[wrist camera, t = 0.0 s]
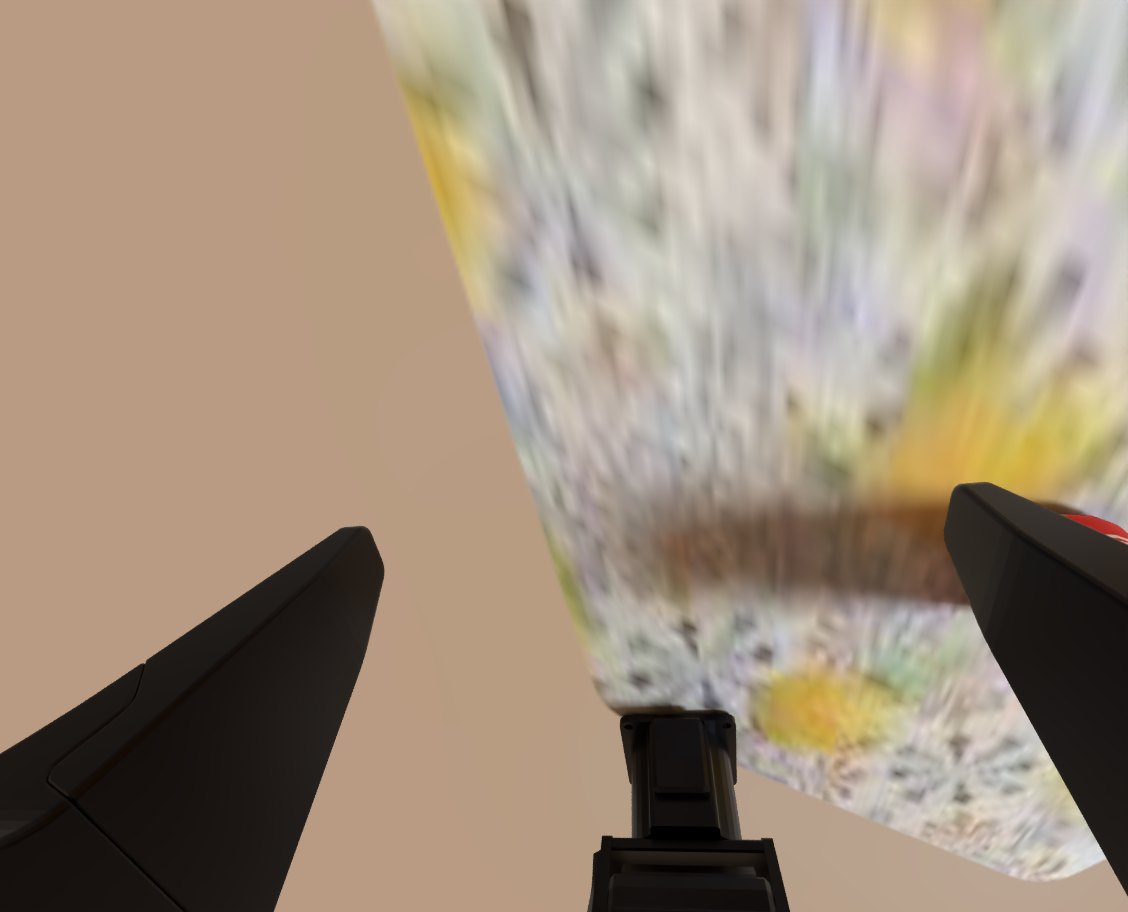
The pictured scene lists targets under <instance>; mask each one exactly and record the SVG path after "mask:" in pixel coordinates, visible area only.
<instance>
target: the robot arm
mask: <svg viewBox="0 0 1128 912" xmlns="http://www.w3.org/2000/svg"><path fill="white" fill-rule="evenodd" d="M944 540H945V544H946V547H947V550H948V552H949V554H950V557H951V559H952V562H953V564H954V567H955V569H956V572H957V574H958V576H959V579H960V581H961V584H962V586H963V589H964V591H965V594H966V596H967V598H968V601H969V603H970V606H971V608H972V611H973V613H974V615H975V618H976V620H977V623H978V625H979V627H980V629H981V632H982V634H983V636H984V638H985V640H986V642H987V644H988V646H989V648H990V650H991V652H992V653H993V655H994V657H995V659H996V661H997V662H998V664H999V666H1000V668H1001V670H1002V671H1003V673H1004V675H1005V677H1006V679H1007V680H1008V682H1009V684H1010V686H1011V688H1012V689H1013V691H1014V693H1015V695H1016V697H1017V698H1018V700H1019V702H1020V704H1021V706H1022V707H1023V709H1024V711H1025V713H1026V715H1027V716H1028V718H1029V720H1030V722H1031V724H1032V725H1033V727H1034V729H1035V731H1036V732H1037V734H1038V736H1039V738H1040V740H1041V741H1042V743H1043V745H1044V747H1045V749H1046V750H1047V752H1048V754H1049V756H1050V758H1051V759H1052V761H1053V763H1054V765H1055V767H1056V768H1057V770H1058V772H1059V774H1060V776H1061V777H1062V779H1063V781H1064V783H1065V785H1066V786H1067V788H1068V790H1069V792H1070V794H1071V795H1072V797H1073V799H1074V801H1075V802H1076V804H1077V806H1078V808H1079V810H1080V811H1081V813H1082V815H1083V817H1084V819H1085V820H1086V822H1087V824H1088V826H1089V828H1090V829H1091V831H1092V833H1093V835H1094V837H1095V838H1096V840H1097V842H1098V844H1099V846H1100V847H1101V849H1102V851H1103V853H1104V855H1105V856H1106V858H1107V860H1108V862H1109V863H1110V865H1111V867H1112V869H1113V870H1114V873H1115V874H1116V876H1117V878H1118V880H1119V881H1120V883H1121V885H1122V887H1123V889H1124V890H1125V892H1126V894H1127V896H1128V544H1126V543H1124V542H1121V541H1119V540H1117V539H1115V538H1112V537H1110V536H1108V535H1106V534H1103V533H1101V532H1099V531H1097V530H1095V529H1092V528H1090V527H1088V526H1086V525H1083V524H1081V523H1079V522H1077V521H1074V520H1072V519H1070V518H1068V517H1066V516H1063V515H1061V514H1059V513H1057V512H1054V511H1052V510H1050V509H1048V508H1045V507H1043V506H1041V505H1039V504H1037V503H1034V502H1032V501H1030V500H1028V499H1025V498H1023V497H1021V496H1019V495H1016V494H1014V493H1012V492H1010V491H1008V490H1005V489H1003V488H1001V487H999V486H996V485H994V484H992V483H988V482H980V483H966V484H959V485H957V486H956V487H955V488H954V489H953V491H952V494H951V499H950V503H949V508H948V513H947V517H946V522H945V527H944ZM383 579H384V565H383V561H382V558H381V556H380V554H379V551H378V549H377V546H376V544H375V542H374V539H373V536H372V534H371V532H370V530H369V529H368V528H366V527H364V526H355V527H344V528H341V529H339V530H338V531H336V532H335V533H333V534H332V535H330V536H329V537H327V538H326V539H324V540H323V541H321V542H320V543H318V544H317V545H315V546H314V547H312V548H311V549H310V550H308V551H307V552H305V553H304V554H302V555H301V556H299V557H298V558H296V559H295V560H293V561H292V562H290V563H289V564H287V565H286V566H284V567H283V568H282V569H280V570H279V571H277V572H276V573H274V574H273V575H271V576H270V577H268V578H267V579H265V580H264V581H262V582H261V583H259V584H258V585H256V586H255V587H254V588H252V589H251V590H249V591H248V592H246V593H245V594H243V595H242V596H240V597H239V598H237V599H236V600H235V601H233V602H231V603H230V604H228V605H227V606H226V607H224V608H223V609H221V610H220V611H218V612H217V613H215V614H214V615H212V616H211V617H210V618H208V619H206V620H205V621H204V622H202V623H201V624H199V625H197V626H196V627H195V628H193V629H192V630H190V631H189V632H187V633H186V634H184V635H183V636H181V637H180V638H178V639H177V640H175V641H174V642H172V643H171V644H169V645H168V646H167V647H165V648H164V649H162V650H161V651H159V652H158V653H156V654H155V655H153V656H152V657H150V658H149V659H147V661H146V663H145V664H144V663H143V664H140V665H138V666H137V667H135V668H134V669H133V670H131V671H129V672H128V673H127V674H125V675H124V676H122V677H121V678H119V679H118V680H116V681H115V682H113V683H112V684H110V685H109V686H107V687H106V688H104V689H103V690H101V691H100V692H98V693H97V694H95V695H94V696H92V697H90V698H89V699H88V700H86V701H84V702H83V703H81V704H80V705H78V706H77V707H75V708H73V709H72V710H70V711H69V712H67V713H65V714H64V715H62V716H61V717H59V718H58V719H56V720H54V721H53V722H51V723H49V724H48V725H46V726H45V727H43V728H42V729H40V730H38V731H37V732H35V733H33V734H32V735H30V736H29V737H27V738H25V739H24V740H22V741H20V742H19V743H17V744H15V745H14V746H12V747H11V748H9V749H7V750H6V751H4V752H2V753H1V754H0V912H274V909H275V907H276V904H277V901H278V898H279V895H280V892H281V890H282V887H283V884H284V881H285V879H286V876H287V873H288V870H289V868H290V865H291V862H292V859H293V856H294V853H295V851H296V848H297V845H298V842H299V840H300V836H301V834H302V831H303V828H304V826H305V823H306V820H307V817H308V814H309V812H310V809H311V806H312V803H313V800H314V798H315V795H316V792H317V789H318V787H319V784H320V781H321V778H322V775H323V773H324V770H325V767H326V764H327V761H328V758H329V756H330V753H331V750H332V747H333V745H334V742H335V739H336V736H337V733H338V731H339V728H340V725H341V722H342V720H343V717H344V714H345V711H346V708H347V705H348V703H349V700H350V697H351V694H352V692H353V689H354V686H355V683H356V681H357V678H358V675H359V672H360V669H361V666H362V663H363V660H364V657H365V653H366V650H367V646H368V642H369V638H370V634H371V629H372V625H373V621H374V617H375V613H376V608H377V604H378V600H379V596H380V592H381V588H382V583H383ZM620 730H621V736H622V742H623V747H624V753H625V759H626V764H627V770H628V776H629V782H630V784H632V838H613V837H612V836H602V842H601V850H599V851H598V852H596V853H594V855H593V877H592V889H591V895H590V901H589V905H588V911H587V912H790V910H789V905H788V901H787V897H786V893H785V889H784V885H783V880H782V876H781V872H780V868H779V864H778V860H777V855H776V851H775V847H774V843H773V839H772V838H761V840H742V838H741V831H740V824H739V817H738V811H737V804H736V797H735V791H734V785H735V784H736V782H737V770H736V724H735V719H734V717H733V716H732V715H729V714H695V715H634V716H624V717H622V718H621V719H620Z"/></svg>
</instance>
